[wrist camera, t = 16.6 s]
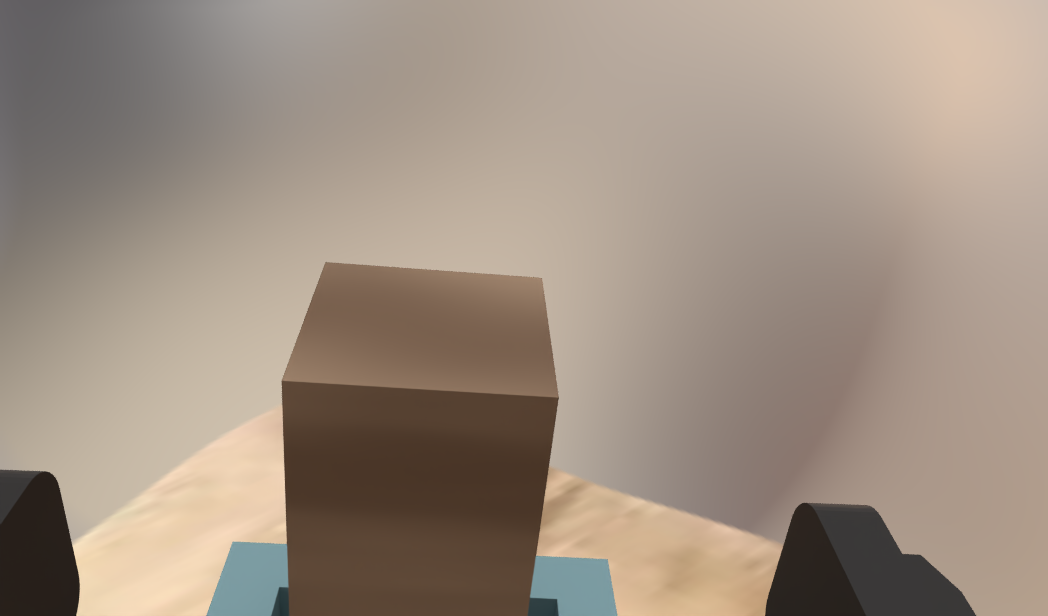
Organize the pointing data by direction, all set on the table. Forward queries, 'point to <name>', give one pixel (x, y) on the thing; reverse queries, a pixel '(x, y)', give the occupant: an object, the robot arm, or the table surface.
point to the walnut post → (417, 443)
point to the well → (263, 597)
